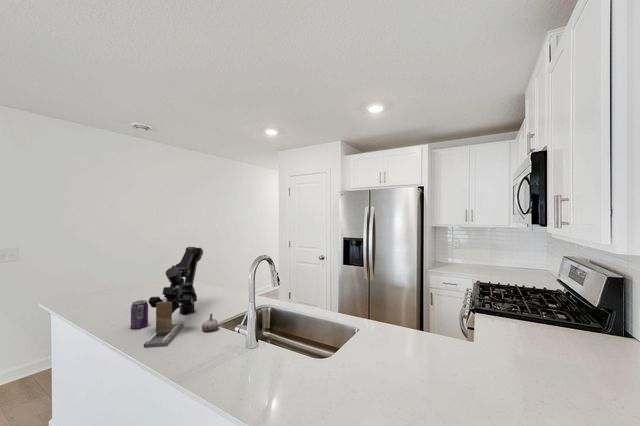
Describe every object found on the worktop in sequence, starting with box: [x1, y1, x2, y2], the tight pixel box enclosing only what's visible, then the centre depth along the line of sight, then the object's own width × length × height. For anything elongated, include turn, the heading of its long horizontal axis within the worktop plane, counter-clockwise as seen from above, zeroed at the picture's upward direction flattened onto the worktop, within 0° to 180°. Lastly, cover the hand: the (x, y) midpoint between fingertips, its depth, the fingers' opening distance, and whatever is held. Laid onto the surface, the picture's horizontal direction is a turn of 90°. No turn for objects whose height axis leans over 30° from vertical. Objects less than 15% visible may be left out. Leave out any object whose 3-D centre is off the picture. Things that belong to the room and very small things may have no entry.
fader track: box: [143, 321, 185, 348], centre depth 123 cm, size 20×9×2 cm, turn 9°
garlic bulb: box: [201, 312, 220, 332], centre depth 130 cm, size 8×7×8 cm
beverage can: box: [130, 299, 149, 329], centre depth 133 cm, size 7×7×12 cm
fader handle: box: [155, 302, 173, 337], centre depth 121 cm, size 4×6×14 cm, turn 99°
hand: (166, 318), depth 124 cm, fingers closed
